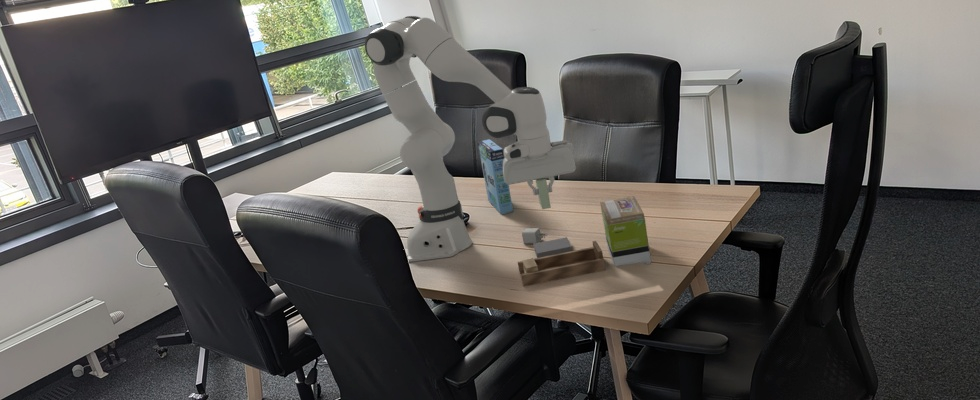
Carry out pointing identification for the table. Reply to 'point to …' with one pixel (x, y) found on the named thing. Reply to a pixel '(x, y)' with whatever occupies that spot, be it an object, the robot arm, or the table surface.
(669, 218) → the table surface
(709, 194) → the table surface
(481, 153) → the blue cardboard box
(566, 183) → the table surface
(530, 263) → the offcut top
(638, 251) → the tea box
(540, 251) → the riser
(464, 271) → the table surface
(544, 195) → the tall board
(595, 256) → the rack
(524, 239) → the usb wall charger
